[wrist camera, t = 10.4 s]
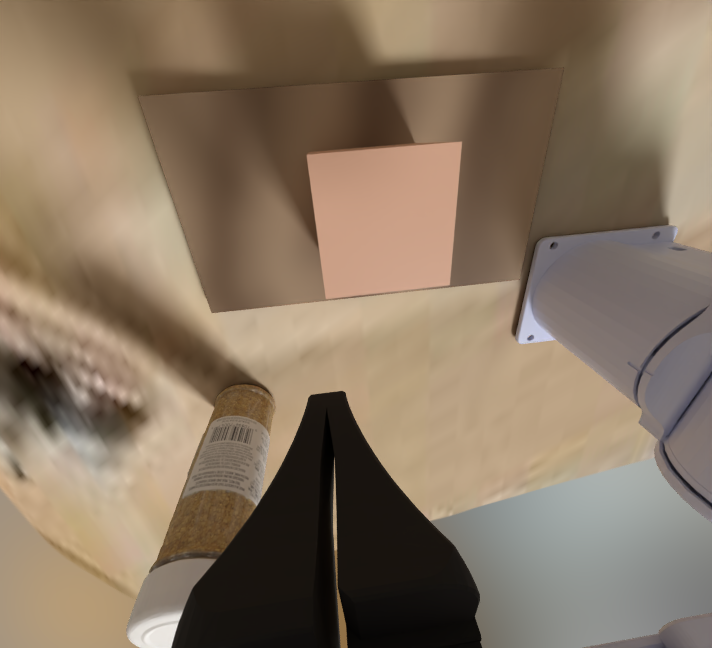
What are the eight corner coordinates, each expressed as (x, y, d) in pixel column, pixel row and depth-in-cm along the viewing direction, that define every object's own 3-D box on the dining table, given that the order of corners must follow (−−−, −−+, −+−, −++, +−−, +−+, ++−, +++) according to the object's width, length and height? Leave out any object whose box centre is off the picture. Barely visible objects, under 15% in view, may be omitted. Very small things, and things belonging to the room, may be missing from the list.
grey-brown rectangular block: (553, 71, 16) (663, 35, 11) (513, 275, 21) (573, 314, 16) (145, 98, 15) (56, 73, 10) (215, 307, 20) (181, 360, 15)
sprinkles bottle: (209, 416, 25) (113, 658, 13) (226, 373, 23) (131, 610, 11) (266, 430, 26) (224, 659, 14) (285, 391, 24) (257, 618, 13)
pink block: (414, 143, 16) (461, 141, 11) (412, 246, 19) (449, 285, 14) (309, 152, 16) (306, 154, 10) (323, 256, 18) (325, 299, 13)
